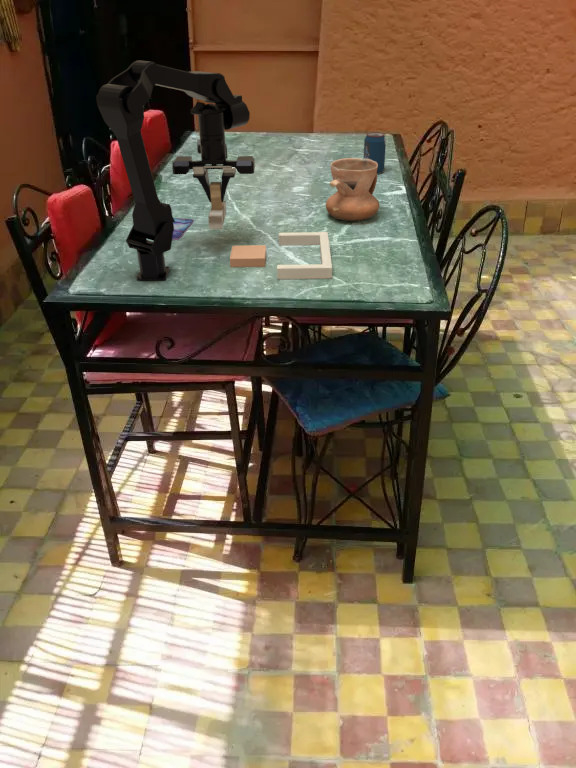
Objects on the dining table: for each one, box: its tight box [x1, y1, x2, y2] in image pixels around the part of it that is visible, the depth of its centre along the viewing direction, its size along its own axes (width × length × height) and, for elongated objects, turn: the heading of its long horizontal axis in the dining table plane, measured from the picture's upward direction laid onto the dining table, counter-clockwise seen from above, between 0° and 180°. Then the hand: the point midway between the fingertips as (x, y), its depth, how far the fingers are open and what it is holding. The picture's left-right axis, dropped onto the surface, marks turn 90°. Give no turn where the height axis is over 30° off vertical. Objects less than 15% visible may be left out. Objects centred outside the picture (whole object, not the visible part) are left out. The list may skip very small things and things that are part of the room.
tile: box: [229, 244, 267, 268], centre depth 149 cm, size 8×8×2 cm
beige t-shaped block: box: [207, 181, 227, 230], centre depth 152 cm, size 12×3×9 cm, turn 0°
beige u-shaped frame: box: [276, 231, 333, 280], centre depth 149 cm, size 12×22×2 cm, turn 0°
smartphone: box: [172, 217, 195, 242], centre depth 167 cm, size 7×1×15 cm
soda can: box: [363, 131, 387, 175], centre depth 206 cm, size 7×7×12 cm
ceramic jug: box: [325, 157, 380, 222], centre depth 170 cm, size 18×14×14 cm
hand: (216, 201), depth 152 cm, fingers closed on beige t-shaped block, 2 cm apart
